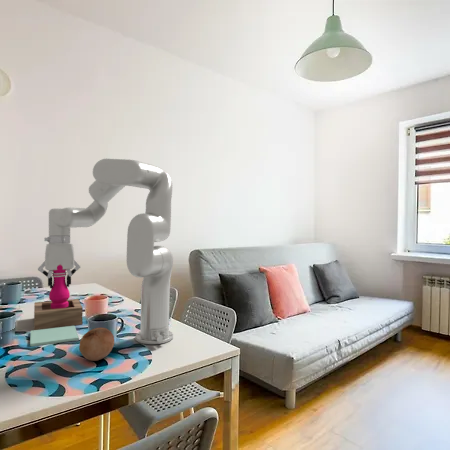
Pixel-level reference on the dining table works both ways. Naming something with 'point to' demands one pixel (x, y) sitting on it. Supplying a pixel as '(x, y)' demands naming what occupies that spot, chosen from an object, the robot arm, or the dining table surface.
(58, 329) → the green mat
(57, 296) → the pepper mill
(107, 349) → the brown oval lump
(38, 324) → the box
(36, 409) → the dining table surface
